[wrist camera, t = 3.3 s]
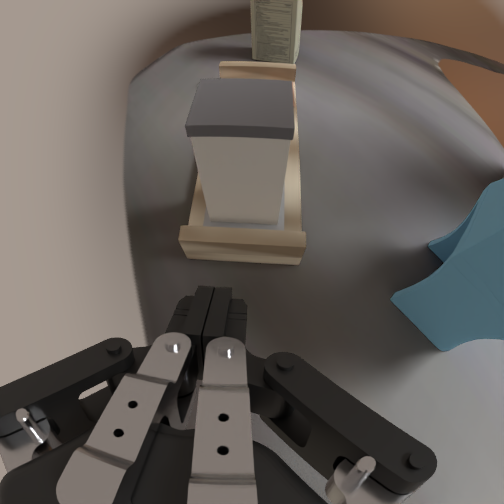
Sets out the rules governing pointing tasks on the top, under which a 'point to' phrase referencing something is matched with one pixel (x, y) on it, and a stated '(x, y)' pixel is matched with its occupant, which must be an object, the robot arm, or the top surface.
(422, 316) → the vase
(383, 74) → the top surface
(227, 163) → the fader knob
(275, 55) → the skincare box
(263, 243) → the fader track
